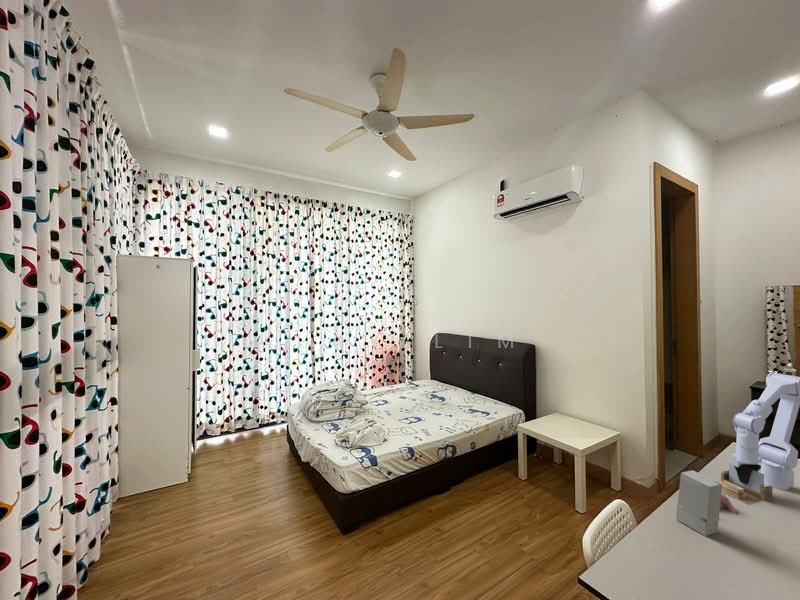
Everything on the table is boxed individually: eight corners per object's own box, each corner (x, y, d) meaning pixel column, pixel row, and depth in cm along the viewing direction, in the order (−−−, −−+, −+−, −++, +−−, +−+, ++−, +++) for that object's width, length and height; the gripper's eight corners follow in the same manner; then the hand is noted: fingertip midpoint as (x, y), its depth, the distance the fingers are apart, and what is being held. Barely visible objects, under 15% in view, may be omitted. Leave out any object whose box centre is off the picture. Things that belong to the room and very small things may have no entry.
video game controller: (728, 515, 113) (721, 491, 116) (740, 517, 109) (732, 492, 112) (697, 512, 114) (691, 489, 117) (707, 514, 110) (700, 490, 113)
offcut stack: (724, 487, 125) (724, 480, 124) (745, 497, 119) (745, 489, 119) (717, 489, 123) (717, 481, 123) (738, 499, 118) (738, 491, 118)
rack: (730, 482, 130) (730, 469, 130) (772, 501, 119) (772, 486, 119) (707, 488, 126) (707, 475, 126) (748, 508, 115) (748, 493, 115)
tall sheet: (732, 482, 128) (732, 462, 128) (763, 496, 120) (764, 474, 120) (728, 483, 128) (729, 463, 128) (760, 497, 119) (760, 475, 119)
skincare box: (675, 520, 108) (677, 472, 107) (689, 515, 110) (691, 468, 110) (707, 538, 100) (709, 486, 99) (721, 532, 102) (723, 482, 102)
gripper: (745, 439, 130) (744, 473, 130) (721, 444, 125) (720, 479, 125) (770, 447, 123) (768, 483, 123) (745, 452, 118) (744, 490, 119)
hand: (745, 482), depth 124 cm, fingers closed on tall sheet, 2 cm apart
